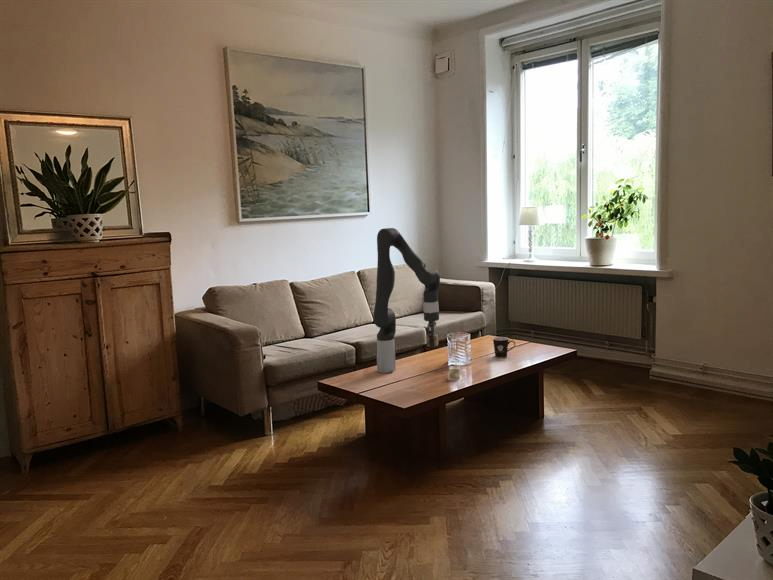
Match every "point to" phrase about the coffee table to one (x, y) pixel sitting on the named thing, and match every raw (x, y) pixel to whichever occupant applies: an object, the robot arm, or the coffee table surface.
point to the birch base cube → (454, 372)
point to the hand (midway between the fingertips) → (432, 344)
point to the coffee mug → (501, 346)
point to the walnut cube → (434, 340)
